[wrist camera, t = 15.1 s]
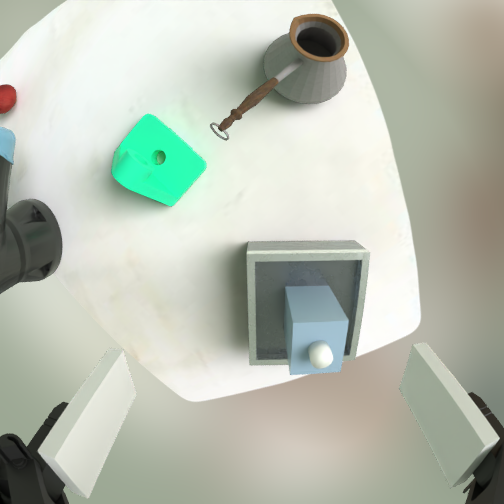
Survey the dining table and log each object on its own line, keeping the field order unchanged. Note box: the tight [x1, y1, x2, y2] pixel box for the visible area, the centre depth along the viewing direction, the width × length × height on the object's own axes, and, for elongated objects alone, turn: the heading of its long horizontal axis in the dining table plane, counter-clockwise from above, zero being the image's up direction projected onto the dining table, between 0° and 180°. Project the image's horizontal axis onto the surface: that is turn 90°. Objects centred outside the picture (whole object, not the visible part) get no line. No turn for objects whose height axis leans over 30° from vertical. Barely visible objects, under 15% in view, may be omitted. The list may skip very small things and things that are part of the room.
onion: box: [0, 85, 16, 114], centre depth 32 cm, size 6×6×8 cm
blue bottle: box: [284, 286, 349, 375], centre depth 34 cm, size 6×7×12 cm
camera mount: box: [111, 114, 206, 206], centre depth 35 cm, size 12×8×10 cm, turn 46°
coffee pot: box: [210, 14, 349, 140], centre depth 30 cm, size 21×12×15 cm, turn 138°
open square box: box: [247, 241, 370, 365], centre depth 42 cm, size 16×17×6 cm
